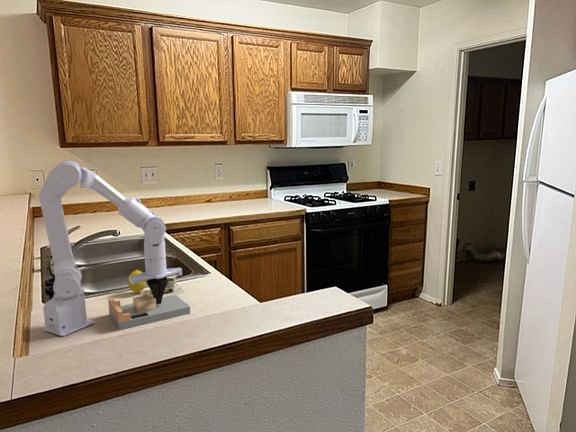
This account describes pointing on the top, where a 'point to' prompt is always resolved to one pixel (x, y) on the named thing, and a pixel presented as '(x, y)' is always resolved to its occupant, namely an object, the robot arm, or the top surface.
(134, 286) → the lemon
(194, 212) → the top surface
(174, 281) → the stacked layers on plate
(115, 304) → the terracotta end wall
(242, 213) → the top surface
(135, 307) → the birch block
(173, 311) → the slate board
